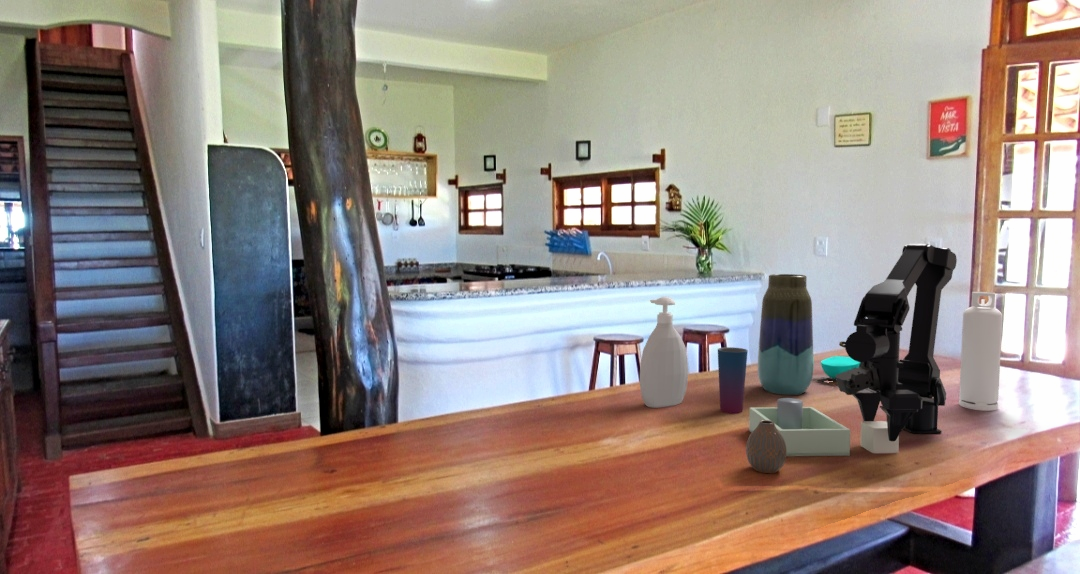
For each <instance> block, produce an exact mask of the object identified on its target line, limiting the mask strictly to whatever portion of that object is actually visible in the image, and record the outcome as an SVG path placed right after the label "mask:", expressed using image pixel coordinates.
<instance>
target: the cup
mask: <svg viewBox="0 0 1080 574" xmlns="http://www.w3.org/2000/svg"><path fill="white" fill-rule="evenodd" d="M748 352H749V351H748V349H747V348H742V347H719V348H717V365H718V367H717V368H718V387H719V389H718V390H719V392H718V393H719V408H720V409H719V410H720V412H722V413H724V414H731V415H735V414H742V413H743V409H744V397H745V383H746V375H747V373H746V372H747V361H748Z"/></svg>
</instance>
